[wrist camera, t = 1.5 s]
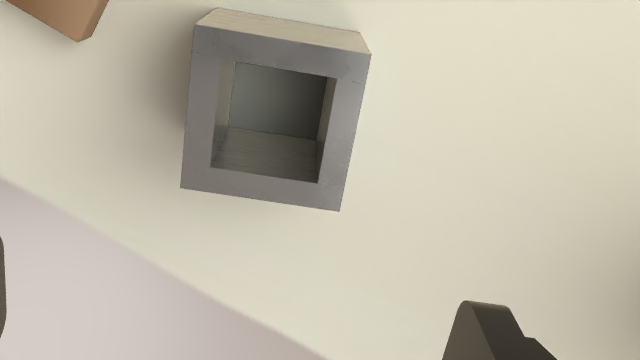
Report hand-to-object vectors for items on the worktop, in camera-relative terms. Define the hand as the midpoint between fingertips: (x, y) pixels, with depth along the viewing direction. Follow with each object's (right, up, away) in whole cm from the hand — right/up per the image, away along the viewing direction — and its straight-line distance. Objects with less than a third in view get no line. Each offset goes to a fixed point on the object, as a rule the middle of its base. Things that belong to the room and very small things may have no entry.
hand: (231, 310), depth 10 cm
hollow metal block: (0, +6, +15) cm, 16 cm away
